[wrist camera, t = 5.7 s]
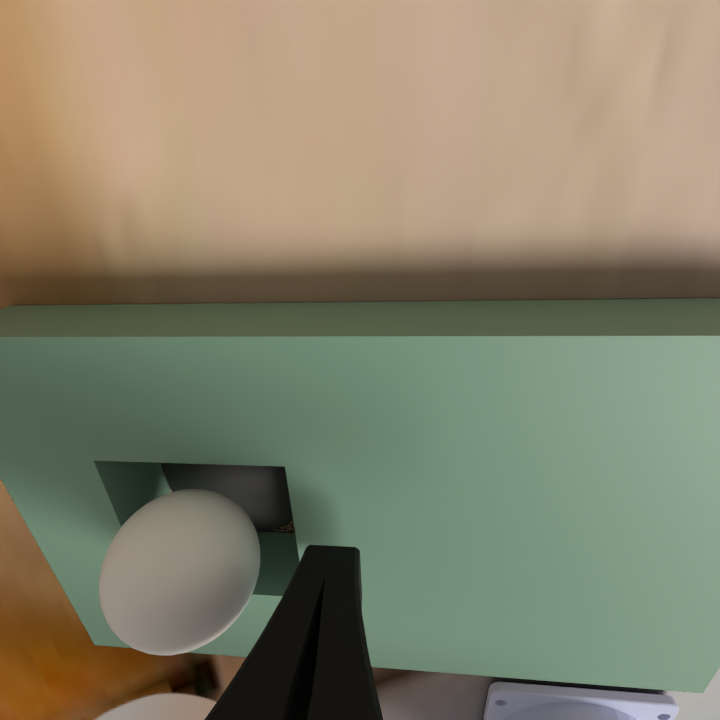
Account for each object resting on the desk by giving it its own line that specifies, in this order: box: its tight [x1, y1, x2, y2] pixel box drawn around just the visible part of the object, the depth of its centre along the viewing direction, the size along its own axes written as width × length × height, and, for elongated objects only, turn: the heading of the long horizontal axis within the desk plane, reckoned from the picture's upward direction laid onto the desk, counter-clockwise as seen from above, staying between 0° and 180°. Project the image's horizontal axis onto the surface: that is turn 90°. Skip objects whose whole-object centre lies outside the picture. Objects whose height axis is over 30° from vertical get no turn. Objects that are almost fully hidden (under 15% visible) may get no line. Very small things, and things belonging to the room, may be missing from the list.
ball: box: [99, 489, 260, 655], centre depth 11 cm, size 4×4×4 cm
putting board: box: [0, 298, 720, 693], centre depth 13 cm, size 13×22×2 cm, turn 92°
